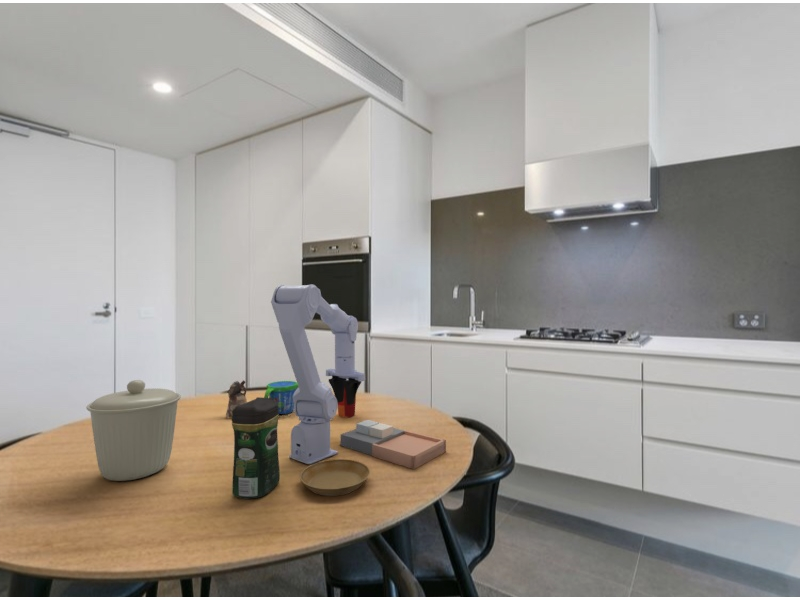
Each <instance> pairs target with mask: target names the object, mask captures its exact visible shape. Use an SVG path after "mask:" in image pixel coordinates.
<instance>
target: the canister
mask: <svg viewBox="0 0 800 600" xmlns="http://www.w3.org/2000/svg"><path fill="white" fill-rule="evenodd" d="M126 389H127V390H123V391H119V392H112V393H109V394H106V395H102V396H100V397H98V398H95V400H93V401H92V402H90V403H88V404H87V405H86V406H85V407H86V410H87V411H88V412H90V420H91V427H92V434H93V435H92V436H93V442H94V443H93V444H94V450H95V455H96V456H95V457H96V461H97V466H98V471H99V473H100V475H101V476H102V477H103V478H104V479H106V480H108V481H114V482H115V481H116V482H124V481H132V480H133V481H134V480H137V479H141V478H145V477H149V476H152V475H153V474H156V473H158V472H159V471H162V470H163V469H164V468H165V467H166V466H167V464H168V463H169V461H170V459H171V455H172V449H173V444H174V443H173V442H174V437H175V436H174V435H175V426H176V418H177V410H178V403H179V401H180V399H181V398H182V396H181V394H179V393H177V392H175V391H173V390H170V389H167V388H146V383H145V382H144V380H141V379H134V380H131V381H129V382H128V383H127V384H126Z"/></svg>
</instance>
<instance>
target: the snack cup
mask: <svg viewBox="0 0 800 600" xmlns="http://www.w3.org/2000/svg"><path fill="white" fill-rule="evenodd" d="M298 387H299V386H298V383H297V381H292V380H280V381H278V380H277V381H273V382H269V383H267V385H266V390H265V392H264V397H263V398H273V399H274V400H275V401H276V402H277V404H278V412H279V413H278V414H283V415H287V414H290V413H293V412H294V400H293V395H294V392H295V391H296V390H297V388H298Z"/></svg>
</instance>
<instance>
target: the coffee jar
mask: <svg viewBox="0 0 800 600" xmlns="http://www.w3.org/2000/svg"><path fill="white" fill-rule="evenodd" d="M278 413H279V412H278V404H277V402H276V401H275V400H274V399H273V398H269V397H268V398H264V397H261V396H260V397H256V398H254V399H252V400H250V401H247V403H245V404H242V405H239V406H237V407H236V408H234V409H233V410H232V419H231V426H232V429H233V435H234V436H233V438H234V439H233V440H234V445H233V446H234V447H233V448H234V449H233V469H232V485H231V486H232V487H231V489H232V490H231V491H232V494H233V495H234V496H236V497H237V498H240V499H243V500H244V499H246V500H250V499H256V498H262V497H264V496H266V495H267V494H268V493H270V492H271V491H273V490H274V489H275V487H276V486H277V485H278V484H279V483H280V479H281V477H280V460H279V444H278V443H279V442H278V441H279V440H278V426H279V425H278V424H279V423H278V422H279V418H280V416H279V414H278Z"/></svg>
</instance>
